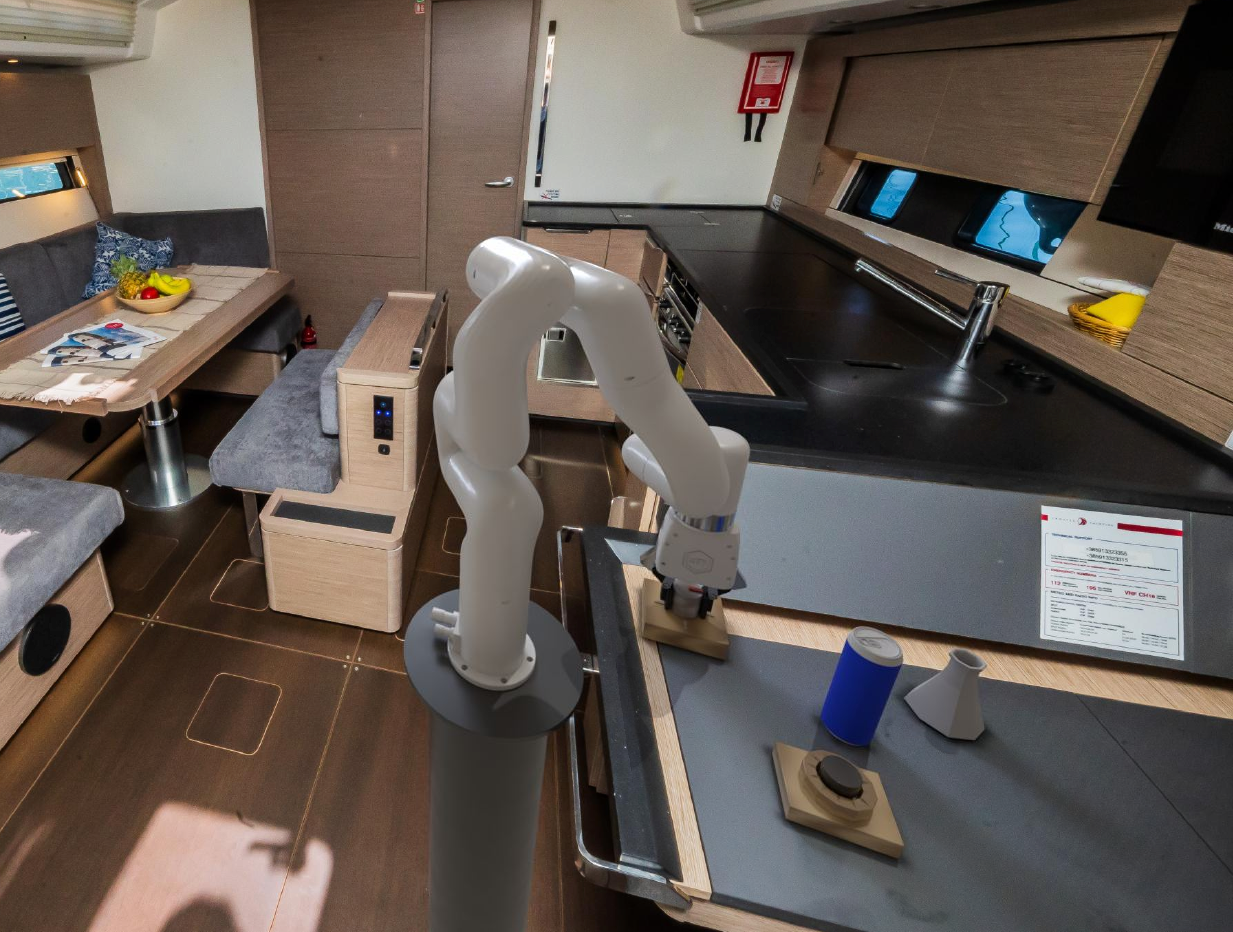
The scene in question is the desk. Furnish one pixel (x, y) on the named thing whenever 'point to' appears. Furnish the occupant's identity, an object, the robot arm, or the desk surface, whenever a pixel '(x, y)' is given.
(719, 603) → the knob panel
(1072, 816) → the desk surface
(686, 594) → the knob
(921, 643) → the desk surface
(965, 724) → the flask
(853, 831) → the button block
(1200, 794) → the desk surface
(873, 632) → the beverage can
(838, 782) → the button
